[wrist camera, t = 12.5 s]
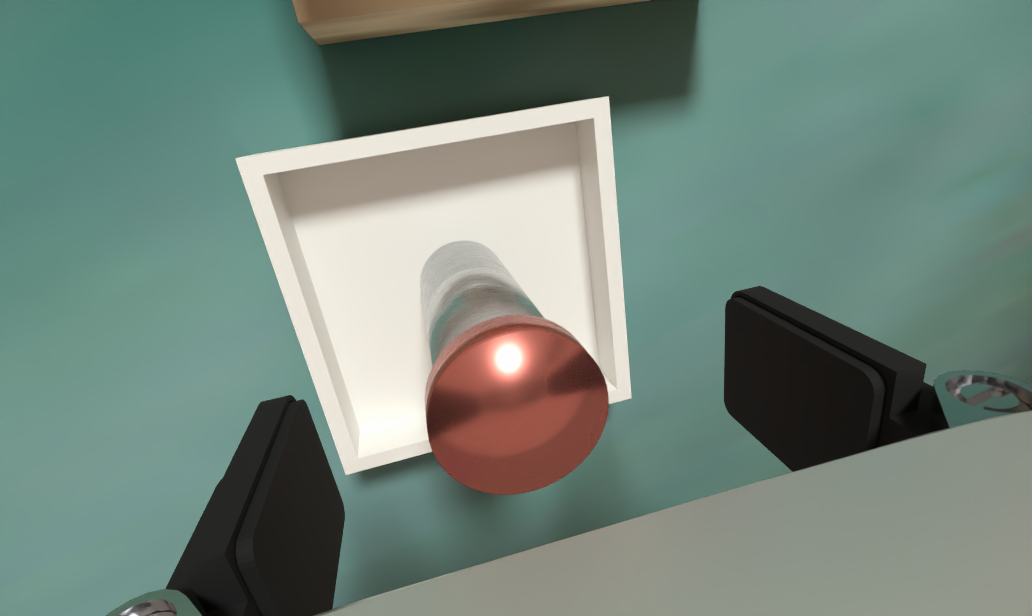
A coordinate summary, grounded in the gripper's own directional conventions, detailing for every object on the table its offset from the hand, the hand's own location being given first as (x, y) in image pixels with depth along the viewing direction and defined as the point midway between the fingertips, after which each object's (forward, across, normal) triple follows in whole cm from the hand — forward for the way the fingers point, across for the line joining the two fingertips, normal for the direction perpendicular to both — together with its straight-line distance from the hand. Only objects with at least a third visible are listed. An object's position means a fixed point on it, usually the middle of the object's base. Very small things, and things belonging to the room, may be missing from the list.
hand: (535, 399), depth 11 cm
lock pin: (+10, 0, 0) cm, 10 cm away
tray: (+10, +1, 0) cm, 11 cm away
